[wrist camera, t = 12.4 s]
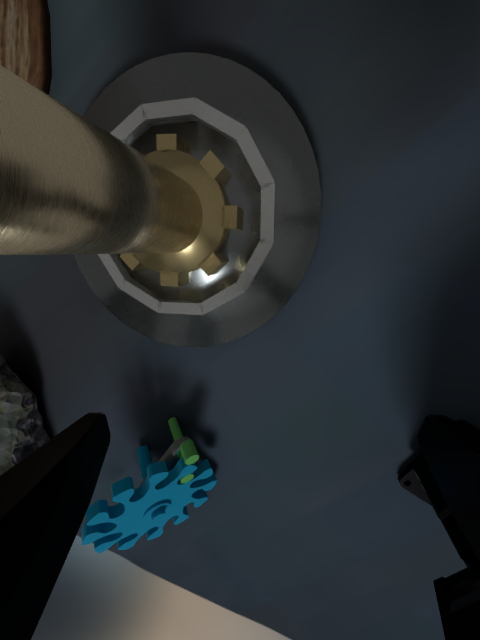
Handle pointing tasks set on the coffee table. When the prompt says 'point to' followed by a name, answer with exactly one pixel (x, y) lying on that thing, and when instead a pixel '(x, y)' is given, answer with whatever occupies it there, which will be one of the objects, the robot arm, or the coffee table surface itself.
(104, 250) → the brass toothed-base goblet
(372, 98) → the coffee table surface
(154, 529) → the blue piece
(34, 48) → the trivet
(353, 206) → the coffee table surface
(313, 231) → the carrier plate
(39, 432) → the mineral rock
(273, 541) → the coffee table surface
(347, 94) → the coffee table surface
